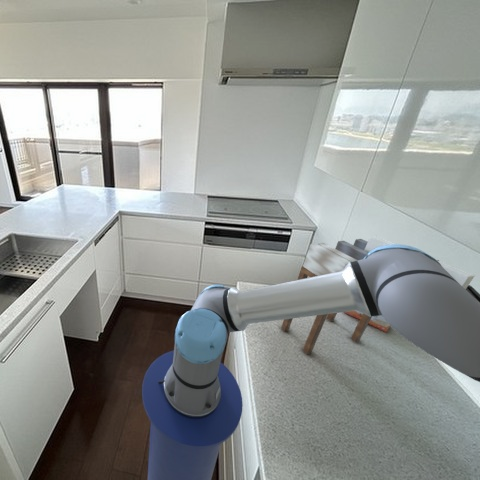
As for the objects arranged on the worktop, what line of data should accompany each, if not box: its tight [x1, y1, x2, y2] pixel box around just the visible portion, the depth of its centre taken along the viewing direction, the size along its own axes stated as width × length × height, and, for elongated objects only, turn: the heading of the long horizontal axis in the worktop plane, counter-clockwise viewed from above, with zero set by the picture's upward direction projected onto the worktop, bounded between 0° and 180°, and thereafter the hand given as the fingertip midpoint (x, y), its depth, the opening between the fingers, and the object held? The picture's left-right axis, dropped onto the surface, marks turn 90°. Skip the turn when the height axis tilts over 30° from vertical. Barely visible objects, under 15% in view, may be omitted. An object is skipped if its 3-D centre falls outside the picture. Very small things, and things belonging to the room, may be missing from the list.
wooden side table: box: [280, 238, 372, 355], centre depth 83 cm, size 12×23×34 cm, turn 107°
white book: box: [364, 235, 476, 289], centre depth 68 cm, size 22×2×8 cm, turn 17°
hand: (427, 263), depth 64 cm, fingers closed on white book, 2 cm apart
